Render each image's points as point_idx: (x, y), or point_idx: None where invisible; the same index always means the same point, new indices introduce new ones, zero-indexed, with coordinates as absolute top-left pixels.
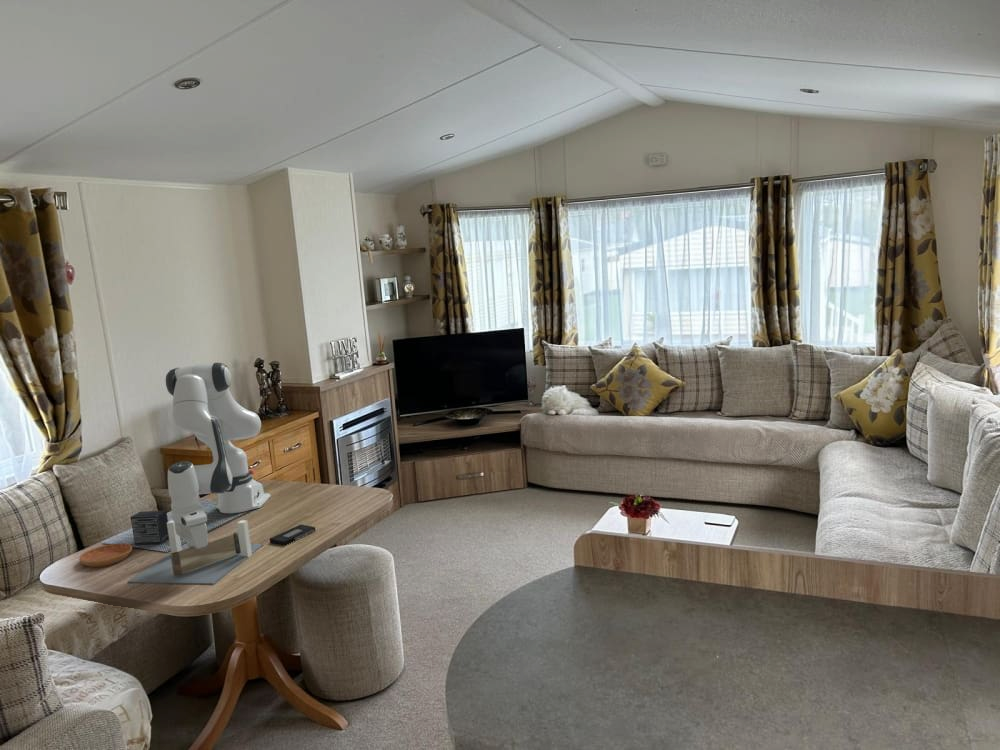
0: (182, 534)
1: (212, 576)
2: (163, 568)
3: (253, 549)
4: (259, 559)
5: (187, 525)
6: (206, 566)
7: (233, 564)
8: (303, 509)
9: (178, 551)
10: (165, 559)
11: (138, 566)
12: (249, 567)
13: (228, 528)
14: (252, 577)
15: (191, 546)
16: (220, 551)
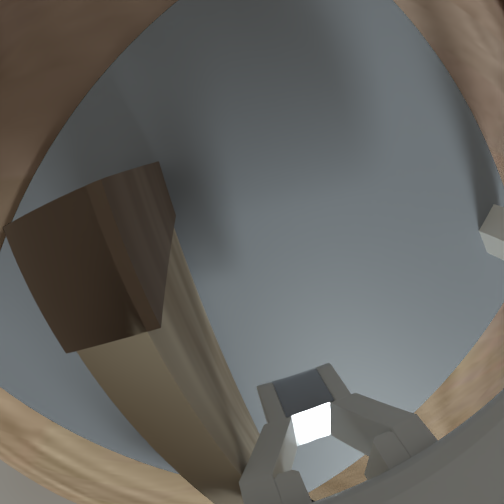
0: (500, 475)
1: (40, 380)
2: (384, 117)
3: None
4: (175, 495)
5: None
6: None
7: (158, 458)
8: None
9: (140, 355)
10: (479, 167)
11: (474, 49)
12: (110, 475)
13: (495, 376)
14: (21, 455)
15: (239, 482)
16: None
